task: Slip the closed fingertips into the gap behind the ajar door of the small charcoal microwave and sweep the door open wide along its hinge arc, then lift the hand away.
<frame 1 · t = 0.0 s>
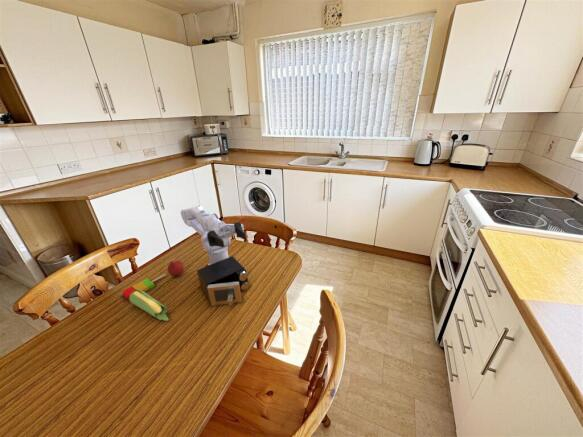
hand: (234, 240, 77), 22 cm above the table, tool horizontal, fingers open, 7 cm apart
onion: (178, 276, 96), on the table
microwave: (223, 286, 90), on the table
edible corn: (151, 310, 80), on the table
door: (224, 298, 78), point 4 cm above the table, hinge at 30.0°
popsicle: (147, 286, 91), on the table
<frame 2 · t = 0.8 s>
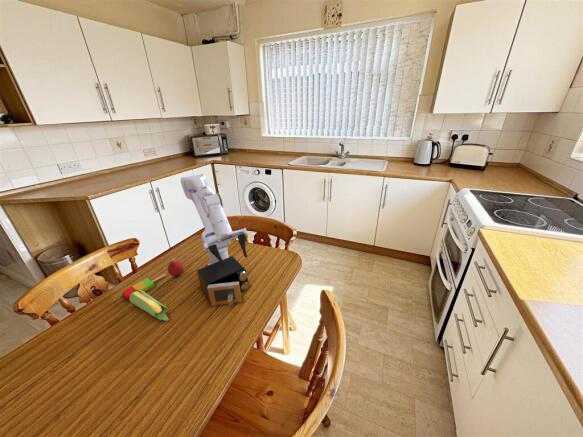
hand: (235, 261, 78), 15 cm above the table, tool tilted 50°, fingers open, 7 cm apart
nothing on the table moved.
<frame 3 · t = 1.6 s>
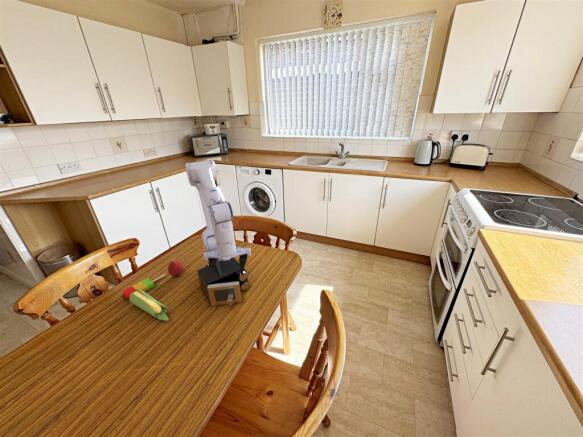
hand: (231, 274, 80), 10 cm above the table, tool pointing down, fingers open, 7 cm apart
nothing on the table moved.
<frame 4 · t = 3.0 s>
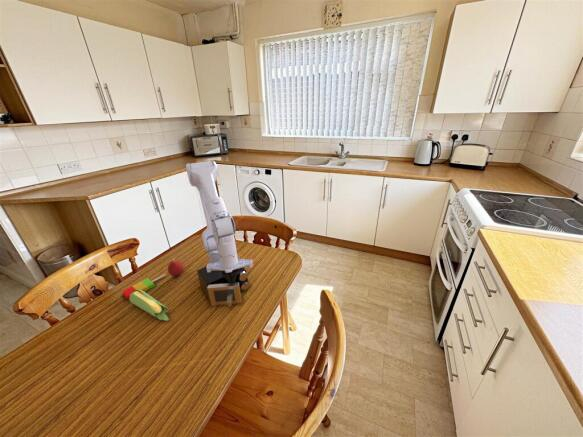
hand: (233, 285, 82), 5 cm above the table, tool pointing down, fingers closed, pressing on door
door: (223, 298, 78), point 4 cm above the table, hinge at 33.2°, touching gripper
everything else where it was.
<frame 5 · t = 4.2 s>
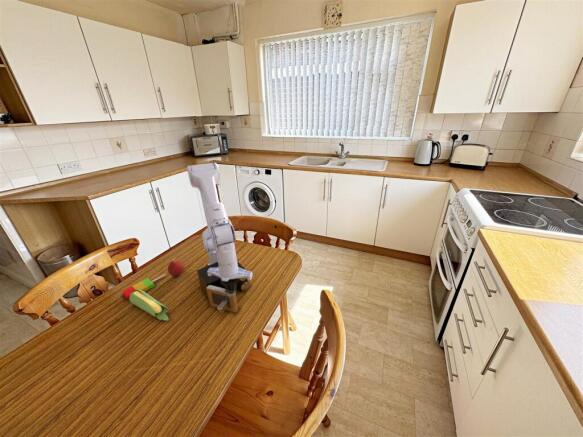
hand: (233, 293, 80), 4 cm above the table, tool pointing down, fingers closed
door: (218, 303, 76), point 4 cm above the table, hinge at 57.3°, touching gripper
everything else where it was.
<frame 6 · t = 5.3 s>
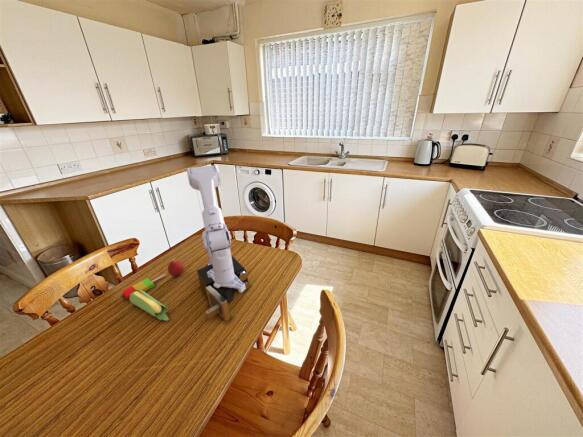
hand: (229, 300, 77), 4 cm above the table, tool pointing down, fingers closed
door: (211, 306, 75), point 4 cm above the table, hinge at 80.8°, touching gripper
everything else where it was.
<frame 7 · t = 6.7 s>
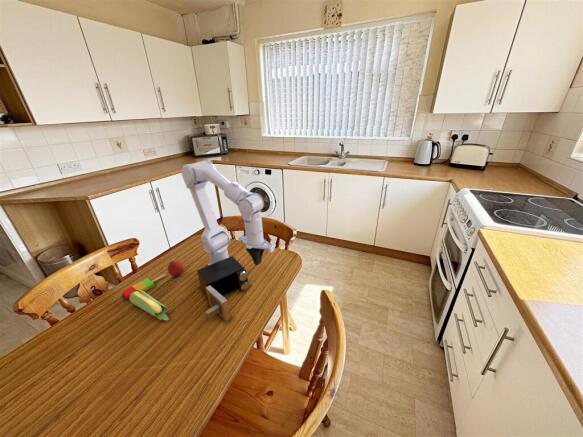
hand: (257, 263, 85), 10 cm above the table, tool pointing down, fingers closed
door: (211, 306, 75), point 4 cm above the table, hinge at 80.8°
everything else where it was.
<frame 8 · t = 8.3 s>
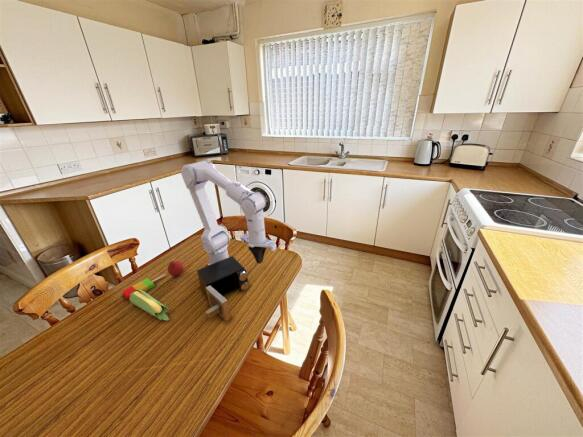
hand: (259, 261, 86), 10 cm above the table, tool pointing down, fingers closed
nothing on the table moved.
at the end: door at +81° (first picture: +30°); the gripper is holding nothing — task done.
